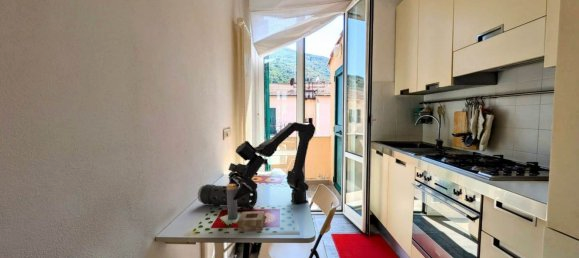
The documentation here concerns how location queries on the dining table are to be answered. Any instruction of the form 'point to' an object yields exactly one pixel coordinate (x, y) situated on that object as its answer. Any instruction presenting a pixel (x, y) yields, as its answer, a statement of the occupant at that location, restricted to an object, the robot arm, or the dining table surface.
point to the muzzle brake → (224, 196)
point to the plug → (232, 202)
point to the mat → (227, 221)
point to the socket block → (251, 221)
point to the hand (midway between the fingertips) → (229, 197)
